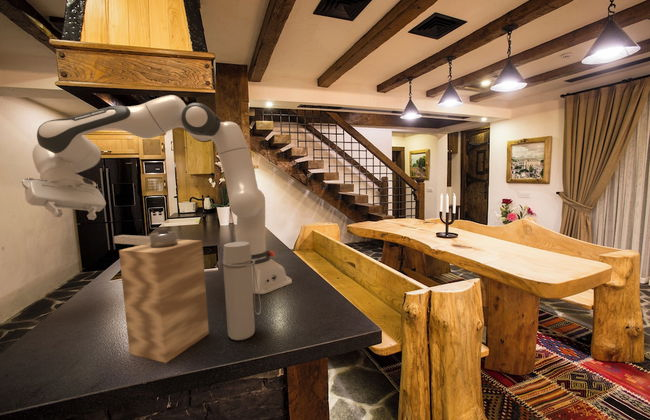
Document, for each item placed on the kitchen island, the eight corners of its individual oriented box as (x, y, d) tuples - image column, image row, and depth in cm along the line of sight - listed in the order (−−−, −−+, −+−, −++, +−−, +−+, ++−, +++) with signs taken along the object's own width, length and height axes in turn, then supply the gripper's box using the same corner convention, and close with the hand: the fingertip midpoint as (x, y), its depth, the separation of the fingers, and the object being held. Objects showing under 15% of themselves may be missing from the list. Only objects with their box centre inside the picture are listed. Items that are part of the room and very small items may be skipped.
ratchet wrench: (107, 244, 79) (105, 228, 79) (129, 240, 85) (128, 225, 84) (163, 248, 72) (161, 231, 72) (183, 243, 78) (181, 227, 77)
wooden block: (129, 353, 75) (119, 250, 72) (175, 327, 88) (168, 238, 85) (166, 363, 70) (156, 253, 68) (208, 333, 83) (202, 240, 81)
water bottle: (229, 345, 77) (223, 248, 75) (226, 331, 84) (220, 243, 82) (265, 336, 81) (260, 244, 78) (259, 324, 88) (254, 239, 85)
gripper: (26, 169, 86) (40, 206, 82) (100, 183, 105) (115, 213, 101) (14, 184, 87) (27, 221, 83) (89, 194, 106) (103, 225, 102)
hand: (76, 217), depth 92 cm, fingers open, 8 cm apart
